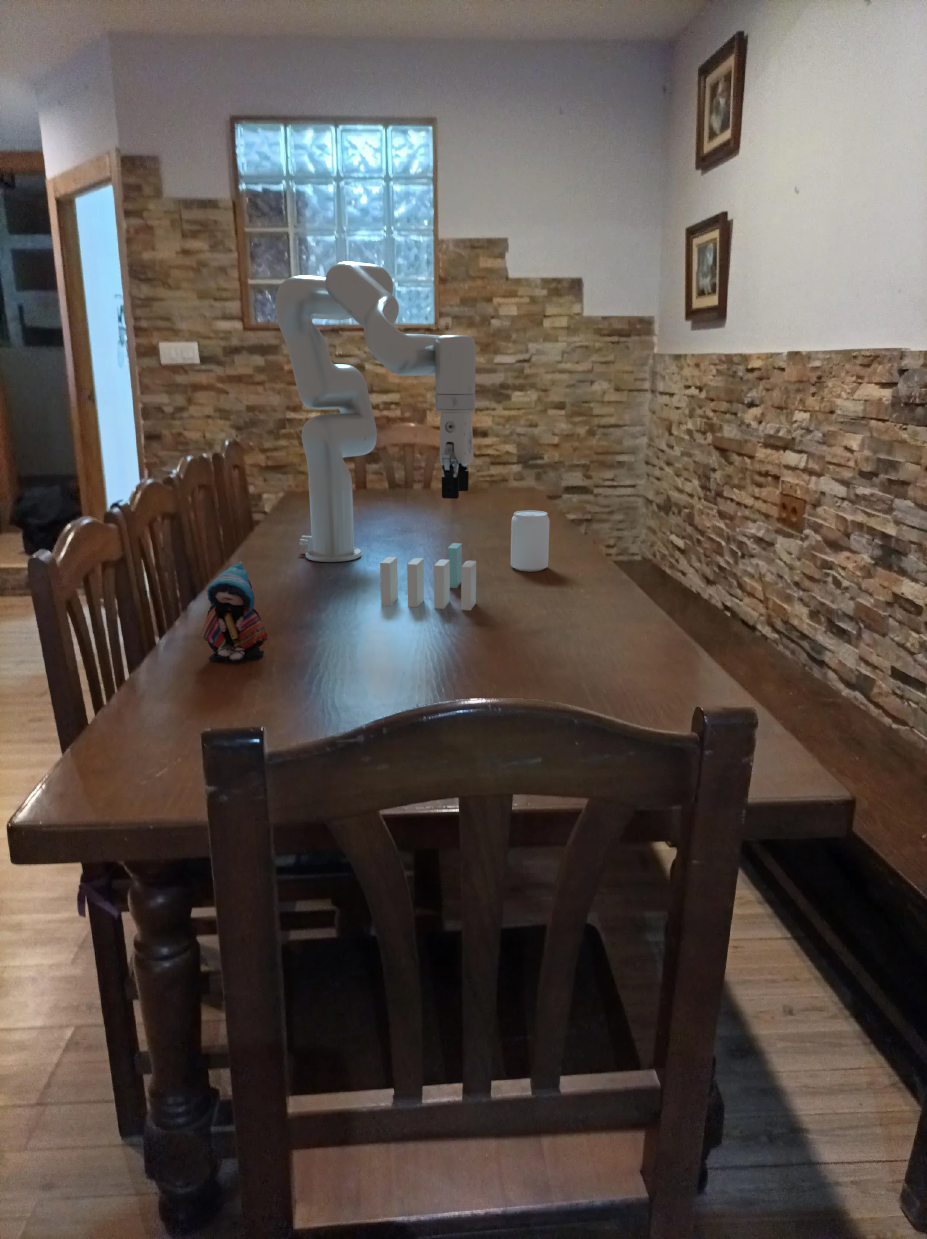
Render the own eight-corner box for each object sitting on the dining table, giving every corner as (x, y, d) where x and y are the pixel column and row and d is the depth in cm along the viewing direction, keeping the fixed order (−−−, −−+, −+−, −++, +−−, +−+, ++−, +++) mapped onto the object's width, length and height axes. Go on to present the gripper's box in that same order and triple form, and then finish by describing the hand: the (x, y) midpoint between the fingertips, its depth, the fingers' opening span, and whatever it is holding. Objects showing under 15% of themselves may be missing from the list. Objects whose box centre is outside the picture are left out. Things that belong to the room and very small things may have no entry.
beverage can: (545, 573, 183) (547, 517, 179) (507, 571, 184) (509, 515, 181) (549, 564, 190) (551, 510, 187) (513, 563, 192) (514, 509, 188)
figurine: (196, 668, 127) (187, 568, 122) (210, 652, 133) (202, 557, 129) (264, 669, 126) (257, 569, 122) (275, 653, 133) (269, 558, 129)
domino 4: (447, 587, 171) (447, 548, 169) (452, 581, 176) (452, 542, 174) (456, 588, 171) (456, 548, 169) (461, 581, 176) (461, 543, 173)
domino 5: (461, 609, 156) (461, 566, 154) (466, 602, 161) (466, 560, 159) (470, 610, 156) (471, 567, 154) (475, 602, 161) (476, 561, 158)
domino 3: (434, 608, 157) (434, 565, 155) (440, 600, 162) (440, 559, 160) (444, 608, 157) (443, 565, 155) (449, 601, 162) (449, 559, 159)
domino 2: (407, 606, 158) (407, 564, 156) (414, 599, 163) (414, 558, 160) (417, 607, 158) (416, 564, 155) (423, 600, 162) (423, 558, 160)
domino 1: (381, 605, 159) (380, 562, 157) (388, 598, 164) (387, 556, 161) (390, 605, 159) (389, 563, 156) (397, 598, 163) (397, 557, 161)
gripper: (466, 406, 154) (466, 502, 159) (482, 401, 171) (482, 488, 175) (425, 406, 156) (426, 500, 161) (445, 401, 172) (446, 487, 177)
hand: (455, 494), depth 168 cm, fingers open, 9 cm apart
